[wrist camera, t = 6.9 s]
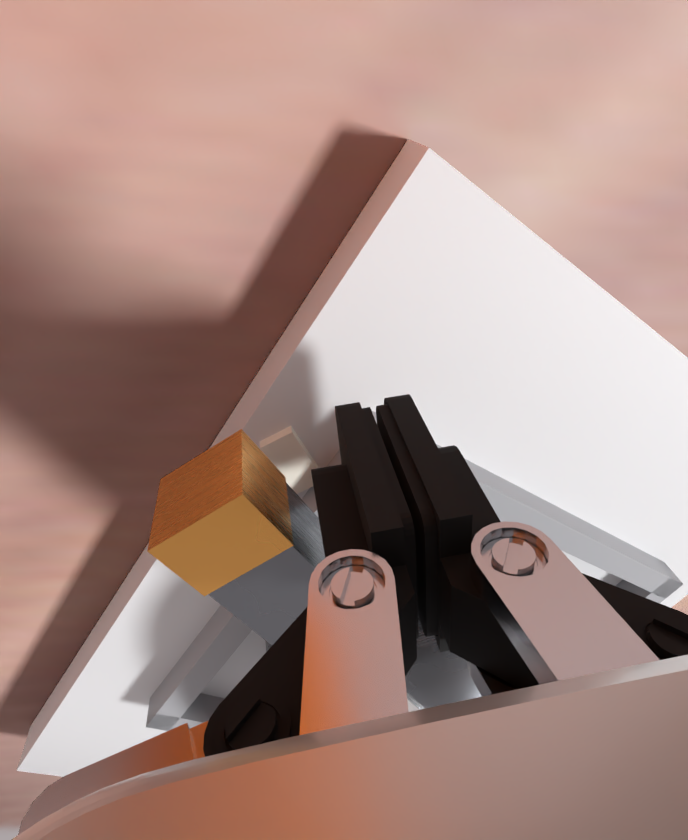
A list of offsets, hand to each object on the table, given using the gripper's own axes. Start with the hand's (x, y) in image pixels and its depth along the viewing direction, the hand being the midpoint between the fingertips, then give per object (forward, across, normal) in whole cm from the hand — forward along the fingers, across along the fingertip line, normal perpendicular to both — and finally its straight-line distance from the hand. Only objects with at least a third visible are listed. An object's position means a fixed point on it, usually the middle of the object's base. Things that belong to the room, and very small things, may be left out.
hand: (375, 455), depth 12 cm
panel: (+4, -1, +9) cm, 10 cm away
